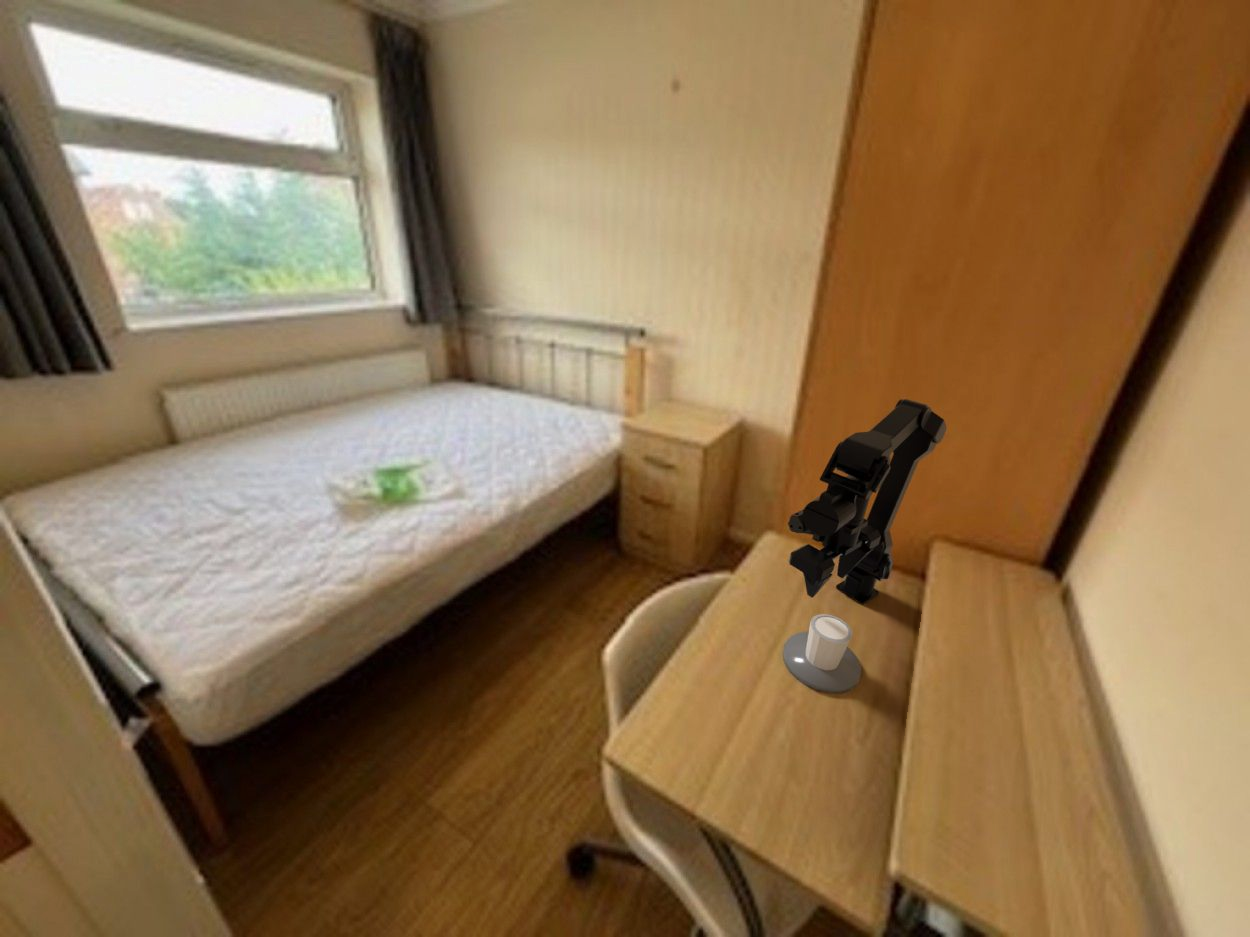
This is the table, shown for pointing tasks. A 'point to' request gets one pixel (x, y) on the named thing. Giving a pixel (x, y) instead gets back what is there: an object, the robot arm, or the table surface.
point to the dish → (819, 678)
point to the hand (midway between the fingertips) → (825, 586)
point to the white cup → (827, 641)
